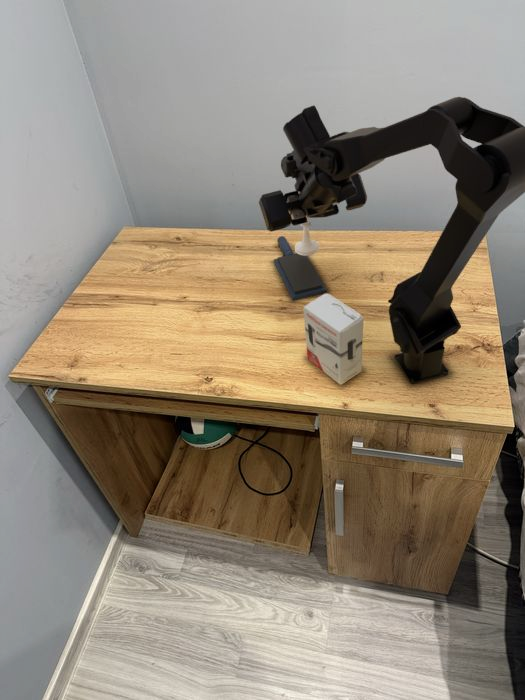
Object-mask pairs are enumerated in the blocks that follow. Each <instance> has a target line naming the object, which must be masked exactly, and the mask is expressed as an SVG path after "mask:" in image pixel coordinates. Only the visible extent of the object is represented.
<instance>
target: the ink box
mask: <svg viewBox="0 0 525 700" xmlns="http://www.w3.org/2000/svg"><path fill="white" fill-rule="evenodd" d="M302 309H303V320H304V321H303V322H304V333H305V343H306V345H305V346H306V358H307V360H308V361H310V362H311V363H312V364H313V365H315V366H316V367H317V368H318V369H320V370H321V371H322V372H323V373H324V374H326V375H327V376H329V377H330V378H331V379H332V380H334V381H335V382H336V383H337V384H339V385H340V386H342V385H344V384H345V383H346V382H348V381H350V380H351V379H352V378H354V377H356V376H357V375H359V374H360V373H361V372H362V370H363V347H364V345H363V343H364V342H363V339H364V317H363V316H362V314H361V313H360V312H358V311H356V310H355V309H353V308H352V307H350V306H348V305H347V304H345V302H344V303H343V302H342V301H340V300H339V299H338V298H336V297H334V296H333V295H331V294H330V293H327V292H326V293H322V295H320V296H318V297H317V298H315V299H313V300H312V301H310V302H308V303H307V304H304V305H303V307H302Z"/></svg>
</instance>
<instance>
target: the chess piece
mask: <svg viewBox="0 0 525 700" xmlns="http://www.w3.org/2000/svg"><path fill="white" fill-rule="evenodd" d="M306 218H307V221H308V222H306V223H302V224H299V226H300V227H302V240H300V241H298V242H297V243H295V246H294V251H295V252H294V253H297V254H299V255H303V256H308V257H309V256H313V255H315V254H317V253H318V252H319V251H320V244H319V242H318V241H317V240H314V239H312V238H311V234H310V228H309V227H311V226H312V222H311V220H310V218H309V217H307V215H306Z"/></svg>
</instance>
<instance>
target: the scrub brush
mask: <svg viewBox="0 0 525 700" xmlns="http://www.w3.org/2000/svg"><path fill="white" fill-rule="evenodd" d="M276 242H277V244H278V246H279V248H280V250H281V252H282V253H283V256H278V257H277V258H274V259H273V263H274V265H275V268H276V270H277V272H278V274H279V276H280V277H281V280H282V282H283V284H284V286H285V288H286V291H287V292H288V294H289V296H290V299H291V300H292V301H296V300H300V299H305V298H309V297H313V296H317V295H321V294H322V295H323V294H326V293H327V292H328V288H327V287H326V285H325V283H324V282H323V280H322V278H321V277H320V275H319V273H318V272H317V269H316V268H315V266H314V265H313V263H312V261H311V259H310V258H309V256H303V255H299V254H297V253H296V252H294V251H293V249H292V247H291V245H290V244H289V241H288V240H287V238H286V237H285V236H283V235H280V236H279V237H278V238H277V239H276Z"/></svg>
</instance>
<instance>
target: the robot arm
mask: <svg viewBox="0 0 525 700" xmlns="http://www.w3.org/2000/svg"><path fill="white" fill-rule="evenodd" d="M282 131H283V132H284V135H285V136H286V138H287V140H288V142H289V144H290V146H291V148H292V151H291V152H289V153H286V155H285V156H283V157H282V158H281V161H280V169H281V171H282V173H283V175H284V177H285V179H286V178H291V179H295V183H294V189H295V190H294V191H289V192H286V193H284V192H283V191H282V190H281V189H279V190H275V191H272V192H269V193H268V192H267V193H264V194H261V195H260V198H259V200H258V205H259V208H260V211H261V214H262V216H263V220H264V224H265V226H266V229H267V231H269V232H276V231H279V230H283V229H286V228H288V227H290V226H291V225H292V226H300V224H302V223H306V222H308V221H309V220H308V221H307V218H306V215H307V217H309V219H319V218H329V217H331V216H335V215H338V214H339V212H340V209H339V206H338V205H339V204H340V203H343V202H344V201H345V203H346V205H345V210H346V211H353V210H356V209H361V208H362V207H364V206H365V205H366V203H367V202H368V195H367V192H366V188H365V186H364V181H363V179H362V176H361V174H360V173H362V172H365V171H368V170H370V169H373V168H374V167H375V166H377V165H379V164H380V163H381V162H383V161H385V159H387V158H390V157H394V156H397V155H400V154H403V153H408V152H410V151H413V150H416V149H420V148H423V147H427V146H430V145H431V146H432V147H434V148H435V149H436V151H437V152H438V155H439V157H440V160H441V162H442V165H443V168H444V169H445V171H446V172H447V173H449V174H450V175H451V176H453V177H454V178H455V179H456V182H455V186H454V187H455V188H454V190H455V194H456V201H457V203H456V206H455V208H454V209H453V212H452V214H451V215H450V217H449V219H448V221H447V223H446V225H445V226H444V228H443V230H442V232H441V234H440V236H439V237H438V239H437V241H436V243H435V245H434V247H433V248H432V251H431V252H430V255H429V256H428V258H427V260H426V261H425V263H424V265H423V267H422V269H421V271H419V272H417V273H415V274H414V275H412V276H410V277H408V278H406V279H405V280H402V281H401V282H399V283H398V284H396V286H395V288H394V289H393V290H394V291H393V294H392V297H391V298H390V299H388V300H387V302H388V303H389V304H390V305H389V307H388V315H389V322H390V323H389V324H390V327H391V332H392V337H393V340H394V343H395V344H396V345H398V346H399V348H400V353H397V354H394V356H393V359H394V361H395V362H396V364H397V365H398V368H399V369H400V370H401V371H402V373H403V374H404V376H405V378H407V381H408V383H410V384H412V385H414V384H418V383H423V382H426V381H429V380H433V379H437V378H440V377H445V376H447V375H449V373H450V372H449V369H448V368H447V366H446V365H445V364H444V362H443V361H444V360H443V359H444V354H445V349H446V347H445V342H446V340H447V339H448V338H450V337H452V336H454V335H456V334H457V333H458V332H459V331H460V329H462V325H461V323H460V321H459V319H458V317H457V315H456V313H455V311H454V309H453V307H452V306H451V305H452V303H453V301H454V295H453V291H452V288H453V286H454V284H455V283H456V282H457V280H458V278H459V277H460V275H461V274H462V272H463V271H464V269H465V268H466V266H467V264H468V263H469V261H470V260H471V258H472V256H473V255H474V254H475V252H476V251H477V249H478V248H479V246H480V245H481V243H482V241H483V240H484V238H485V237H486V235H487V234H488V232H489V230H490V229H491V227H493V225H494V223H495V222H496V220H497V218H498V217H499V215H500V214H502V212H504V211H505V210H506V209H507V208H508V207H509V206H510V205H511V204H513V203H514V202H516V201H517V200H518V199H519V198H520V197H522V196H523V194H525V125H523V124H522V123H521V122H520V121H517V120H516V119H515V118H513V117H512V116H508V115H505V114H502V113H499V112H495V111H493V110H489V109H486V108H483V107H481V106H480V105H478V104H477V103H475V102H474V101H472V100H471V99H469V98H466V97H462V96H456V97H452V98H450V99H447V100H445V101H442V102H440V103H437V104H434V105H432V106H430V107H429V108H428V109H427V110H425V111H423V112H421V113H418V114H415V115H412V116H411V117H408V118H405V119H403V120H400V121H397V122H395V123H392V124H390V125H387V126H385V127H376V126H371V127H361V128H358V129H355V130H352V131H342V132H340V133H337V134H334V135H330V133H329V131H328V129H327V128H326V126H325V124H324V122H323V120H322V118H321V116H320V113H319V111H318V109H317V107H316V105H314V104H313V105H311V106H308V107H305V108H303V110H302V111H301V112H299V113H298V114H297V115H295V116H294V117H293V118H291V119H290V120H289V121H287V122H286V123H285V124H284V125H283V127H282ZM462 137H463V138H465V139H467V140H470V141H472V142H475V143H477V144H478V145H477V146H475V147H472V146H471V145H469V144H468V143H467V142H466V141H464V140H463V138H462Z"/></svg>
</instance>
